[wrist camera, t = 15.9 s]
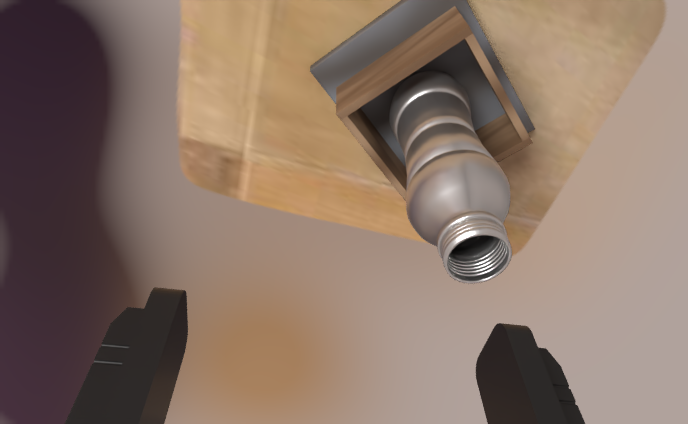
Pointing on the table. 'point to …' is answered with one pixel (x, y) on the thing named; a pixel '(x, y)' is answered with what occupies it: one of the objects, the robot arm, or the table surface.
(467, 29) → the bottle holder
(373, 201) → the table surface
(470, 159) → the metal bottle
